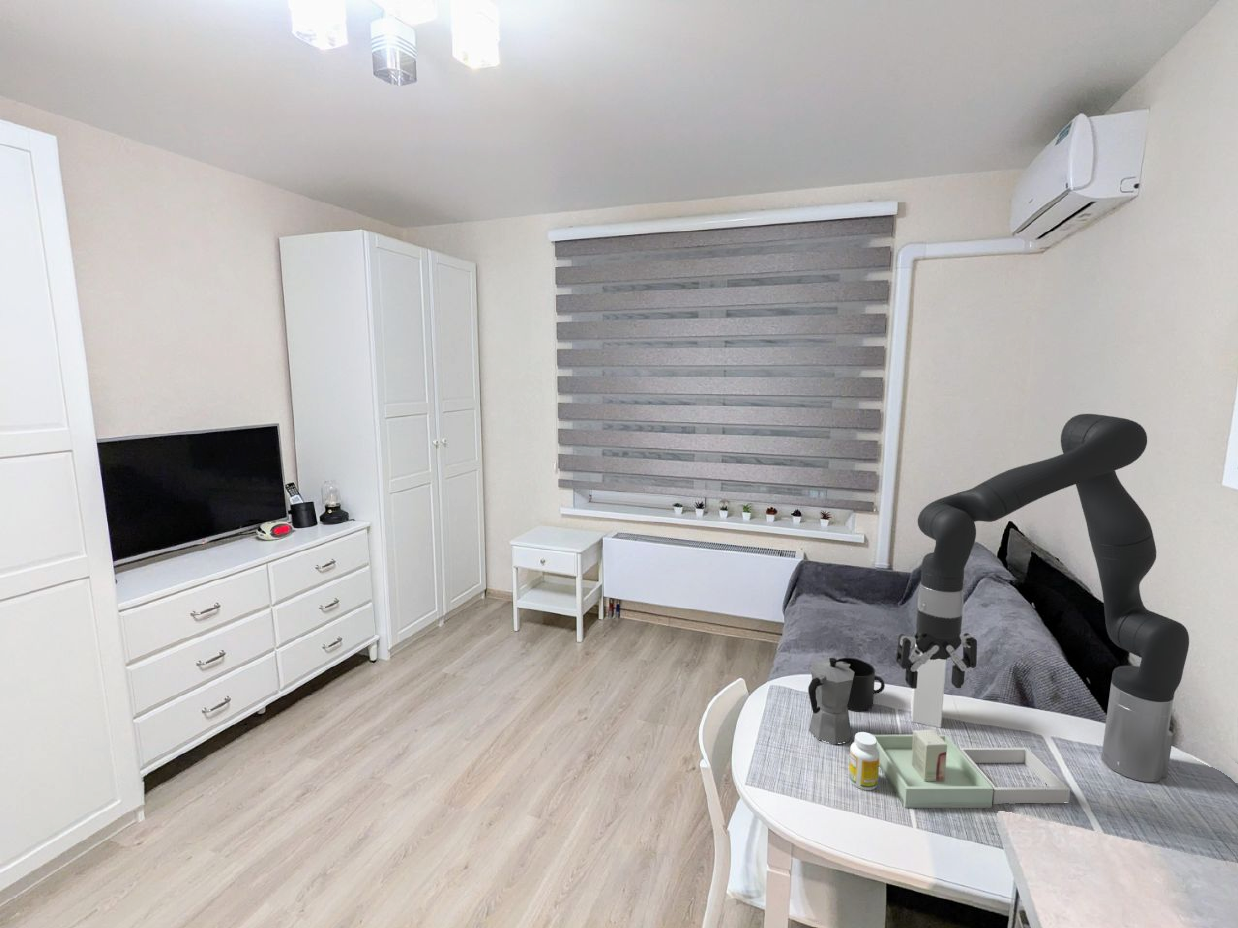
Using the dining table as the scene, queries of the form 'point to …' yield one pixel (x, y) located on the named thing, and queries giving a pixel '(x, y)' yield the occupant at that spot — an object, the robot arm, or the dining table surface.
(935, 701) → the milk
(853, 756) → the supplement bottle
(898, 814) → the dining table surface
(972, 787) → the bin
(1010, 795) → the frame
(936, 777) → the small box
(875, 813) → the dining table surface
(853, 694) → the mug
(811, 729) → the coffeepot
